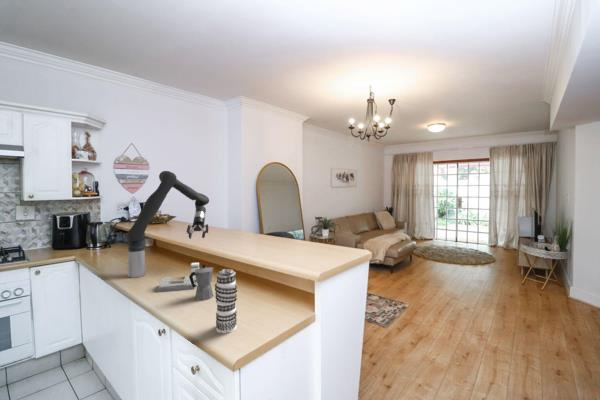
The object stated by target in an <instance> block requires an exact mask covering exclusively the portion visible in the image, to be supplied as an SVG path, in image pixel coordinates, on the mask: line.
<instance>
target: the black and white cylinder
mask: <svg viewBox="0 0 600 400" xmlns="http://www.w3.org/2000/svg"><path fill="white" fill-rule="evenodd" d="M236 274H237V272H236V271H234V270H233V269H231V268H224V269H220V270H219V271H218V272H217V273H216V275H215V276H216V282H215V284H214V291H215V304H216V307H217V308H216V313H215V316H216V317H215V319H216V321H215V325H216V326H215V329H216V332H217V333H219V332H222V333H221V334H227V333H226V332H229V333H231V331H232V332H234V331H236V329H237V327H238V326H237V325H238V323H237V322H238V319H237V313H238V312H237V306H236V302H237V300H238V298H237V297H238V296H237V295H238V294H237V293H238V290H237V289H238V286H237V285H236V283H237V282H236V281H237V280H236ZM233 330H234V331H233Z"/></svg>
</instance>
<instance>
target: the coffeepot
mask: <svg viewBox="0 0 600 400" xmlns="http://www.w3.org/2000/svg"><path fill="white" fill-rule="evenodd" d="M201 266H202V267H199V269H197V270H195V272H192V273H191V272H190V275H188V276H189V278H190V281H191V284H192V286H193V287H195V288H196V290H195V299H196V300H197V301H207V300H210V299H212V298H213V297H214V293H213V287H212V284H211V282H212V279H213V273H214V269H215V267H214V266H213V267H211V266H210V267H206V264H202V265H201ZM194 275H196V278H195V280H196V281H197V282H196V285H194V281H193V276H194Z"/></svg>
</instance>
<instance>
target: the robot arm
mask: <svg viewBox="0 0 600 400" xmlns="http://www.w3.org/2000/svg"><path fill="white" fill-rule="evenodd" d="M158 179H159V181H160V183H159V186H158V187H157V189H155V191H154V192H153V193H152V194H150V195H149V196H148V197H147V199H146V201H145V202H144V205H143V206H142V208H141V210H140V213H139V214H138V217H137V219H136V220H135V222H134V223H133V225H132V226H131V227H130V229H129V230H128V231H127V238H128V263H127V275H128V276H127V277H128V278H132V279H133V278H140V277H145V275H146V252H145V250H146V249H145V247H146V236H145V235H146V230H147V228H148V226H149V224H150V222H151V221H152V220H153V218H154V217H155V216H156V215H157V213H158V212H159V209H160V208H161V206H162V204H163V203H164V201H165V199H166V197H167V195H168V193H169V192H170V190H171V189H172V188H174V189H175V190H177V191H178V192H179V193H180V194H183V196H185V197H186V198H188V199H189V200H191V201H194V206H195V214H194V217H193V223H192V225H190V224H188V225H187V228H186V234H187V235H188V239H190V240H191V239H192V235H193V233H195V232H202V236H201V239H204V238H205V237H206V234H209V224H205V221H206V210H207V209H206V207H205V206H206V205H207V204H209V203H210V199H209V197H208V196H207V195H205V194H202V193H200V192H197V191H196V190H195V189H193V188H192V187H190V186H188V185H187V184H185V183H183V182H182V181H180V180H179V179H177V175H176V174H175V173H174V172H171V171H169V170H163V171H162V172H160V173H159V175H158ZM204 228H205V229H204Z"/></svg>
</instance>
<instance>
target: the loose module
mask: <svg viewBox="0 0 600 400" xmlns="http://www.w3.org/2000/svg"><path fill="white" fill-rule="evenodd" d="M199 268H200V262H191V263H190V274H191V273H192V272H195V270H197V269H199ZM194 277H195V279H196V275H194Z"/></svg>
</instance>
